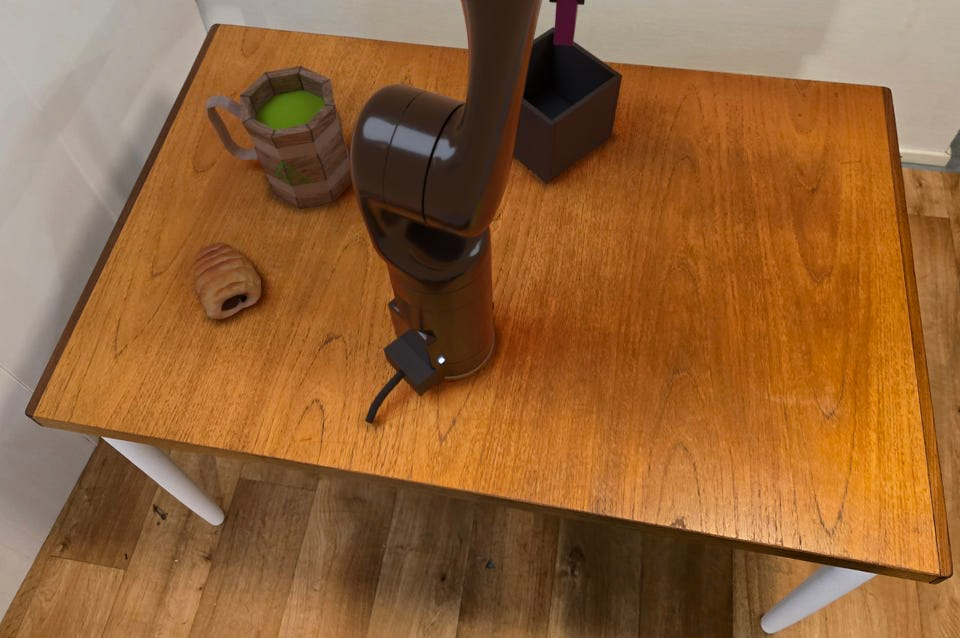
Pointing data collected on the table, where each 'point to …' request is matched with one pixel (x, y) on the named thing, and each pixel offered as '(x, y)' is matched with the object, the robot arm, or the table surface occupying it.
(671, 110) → the table surface
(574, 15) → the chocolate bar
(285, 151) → the mug
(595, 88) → the waste bin
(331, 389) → the table surface
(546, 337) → the table surface
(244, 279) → the pastry
